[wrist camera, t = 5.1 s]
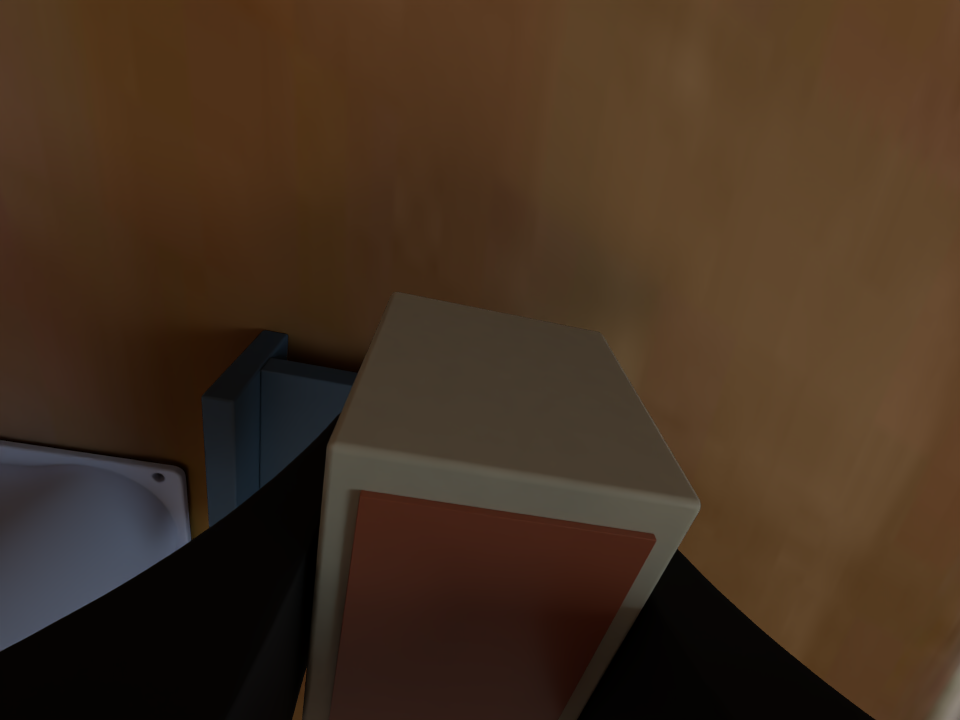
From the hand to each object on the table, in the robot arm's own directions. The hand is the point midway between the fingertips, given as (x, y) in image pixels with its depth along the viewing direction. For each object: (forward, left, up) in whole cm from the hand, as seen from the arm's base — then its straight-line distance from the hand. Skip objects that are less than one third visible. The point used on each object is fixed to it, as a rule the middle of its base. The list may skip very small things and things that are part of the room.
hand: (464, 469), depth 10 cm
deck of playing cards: (0, 0, 0) cm, 0 cm away
